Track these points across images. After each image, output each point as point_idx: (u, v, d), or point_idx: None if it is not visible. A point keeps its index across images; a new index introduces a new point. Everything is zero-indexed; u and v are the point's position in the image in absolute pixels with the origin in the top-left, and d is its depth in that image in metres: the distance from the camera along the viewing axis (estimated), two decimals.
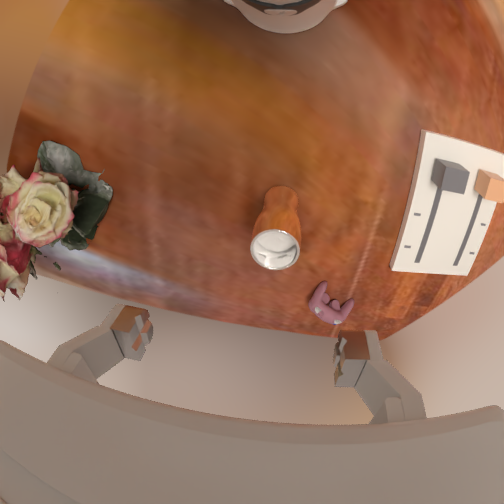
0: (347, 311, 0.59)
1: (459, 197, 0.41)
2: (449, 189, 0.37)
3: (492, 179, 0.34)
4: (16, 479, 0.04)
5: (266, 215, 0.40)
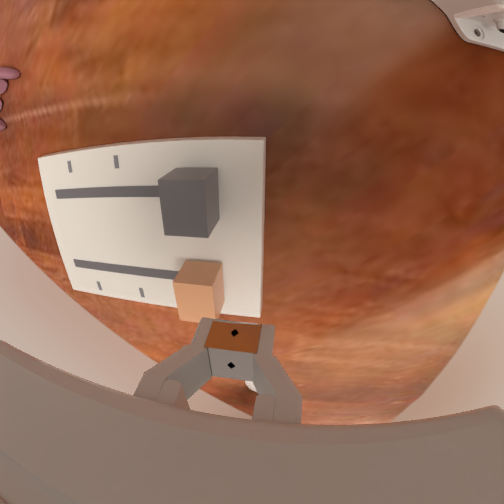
0: None
1: (164, 235, 0.30)
2: (163, 200, 0.23)
3: (210, 290, 0.27)
4: (16, 479, 0.04)
5: None
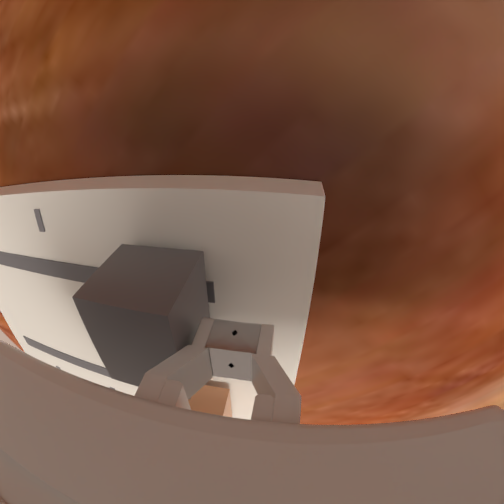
0: None
1: None
2: (93, 332, 0.10)
3: None
4: (16, 479, 0.04)
5: None
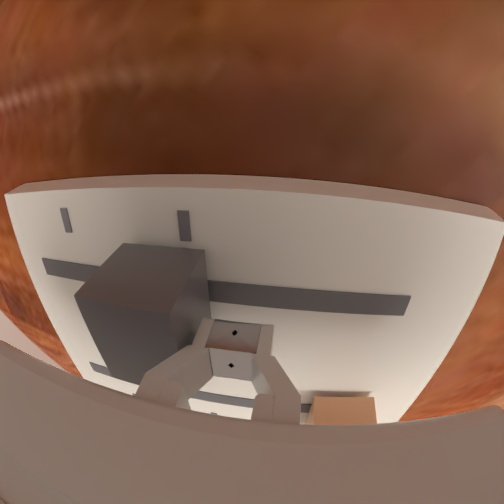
0: None
1: (281, 363, 0.16)
2: (94, 330, 0.10)
3: None
4: (16, 479, 0.04)
5: None
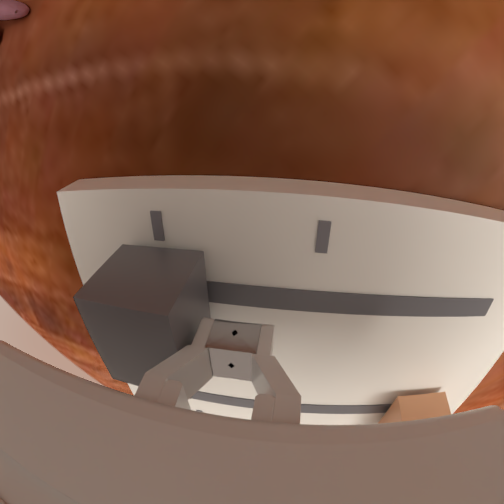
0: None
1: (376, 368, 0.15)
2: (94, 332, 0.10)
3: None
4: (16, 479, 0.04)
5: None
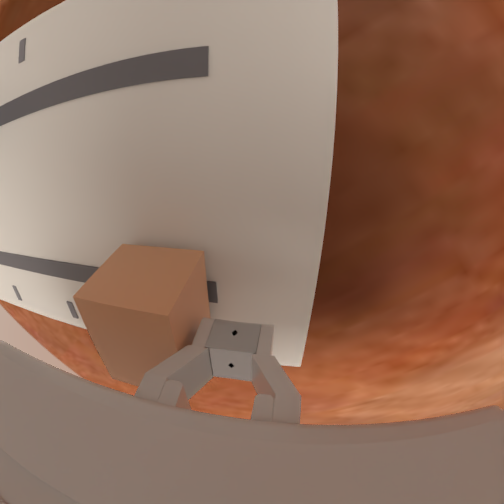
0: None
1: (92, 188, 0.12)
2: None
3: (165, 326, 0.09)
4: (16, 479, 0.04)
5: None
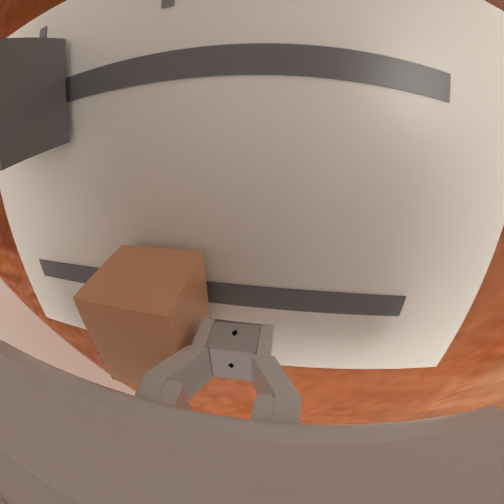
0: None
1: (290, 191, 0.11)
2: None
3: (164, 327, 0.09)
4: (16, 479, 0.04)
5: None
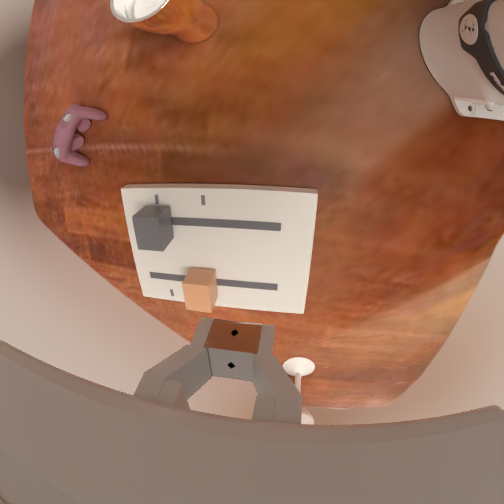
0: (72, 161, 0.37)
1: (238, 255, 0.42)
2: (136, 228, 0.37)
3: (207, 288, 0.40)
4: (16, 479, 0.04)
5: None
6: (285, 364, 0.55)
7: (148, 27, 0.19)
